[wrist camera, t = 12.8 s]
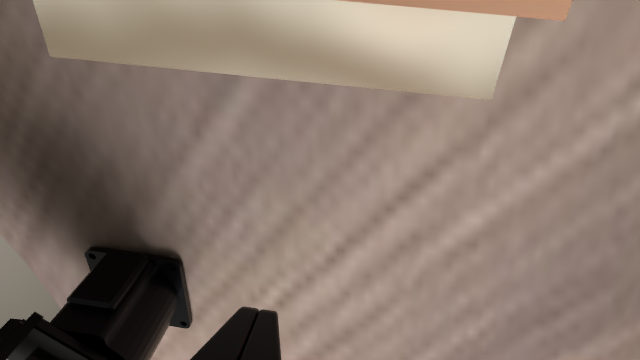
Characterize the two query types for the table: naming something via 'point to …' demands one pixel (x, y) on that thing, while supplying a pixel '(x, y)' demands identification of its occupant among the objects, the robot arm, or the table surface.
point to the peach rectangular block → (490, 6)
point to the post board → (289, 41)
